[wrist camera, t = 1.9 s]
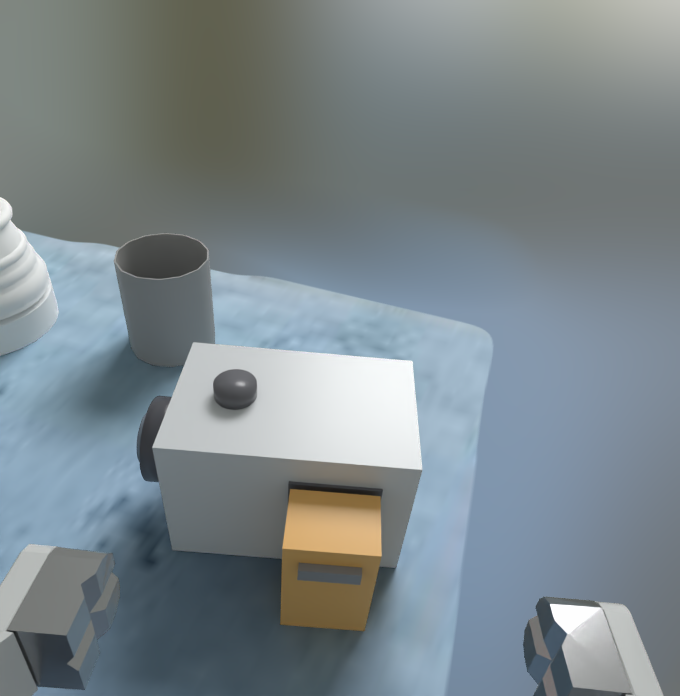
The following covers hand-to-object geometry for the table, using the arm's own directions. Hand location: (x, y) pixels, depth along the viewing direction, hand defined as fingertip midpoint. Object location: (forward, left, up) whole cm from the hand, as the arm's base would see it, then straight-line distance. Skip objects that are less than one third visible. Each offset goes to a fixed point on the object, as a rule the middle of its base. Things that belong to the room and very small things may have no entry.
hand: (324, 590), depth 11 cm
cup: (+16, +40, -27) cm, 51 cm away
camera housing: (+12, +17, -27) cm, 34 cm away
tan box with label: (+10, +9, -27) cm, 30 cm away
